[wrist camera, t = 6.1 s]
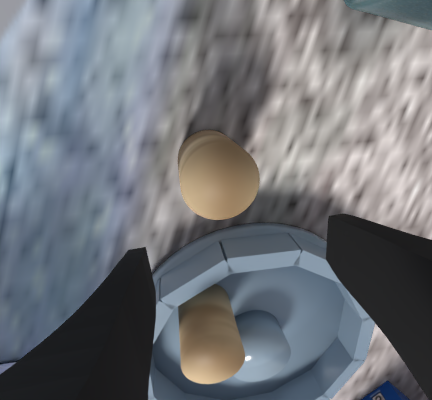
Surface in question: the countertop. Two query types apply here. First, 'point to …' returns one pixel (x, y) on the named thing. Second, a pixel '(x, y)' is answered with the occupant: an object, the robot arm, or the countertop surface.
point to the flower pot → (397, 10)
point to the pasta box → (386, 393)
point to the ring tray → (262, 315)
